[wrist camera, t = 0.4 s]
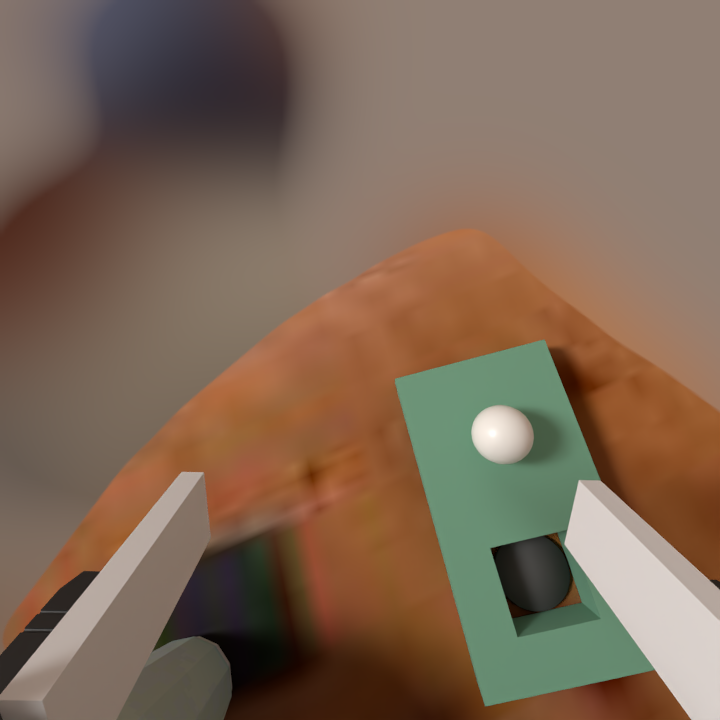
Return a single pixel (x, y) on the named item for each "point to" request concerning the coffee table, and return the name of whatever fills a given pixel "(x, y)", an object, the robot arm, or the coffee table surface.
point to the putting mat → (513, 526)
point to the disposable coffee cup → (181, 683)
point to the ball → (502, 434)
